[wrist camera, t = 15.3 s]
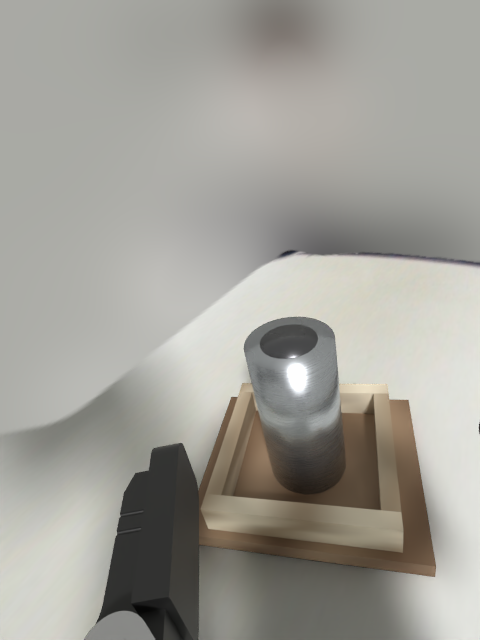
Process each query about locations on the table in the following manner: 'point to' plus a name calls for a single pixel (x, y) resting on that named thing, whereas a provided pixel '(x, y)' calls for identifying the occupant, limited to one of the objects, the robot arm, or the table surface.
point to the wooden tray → (327, 507)
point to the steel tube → (298, 401)
